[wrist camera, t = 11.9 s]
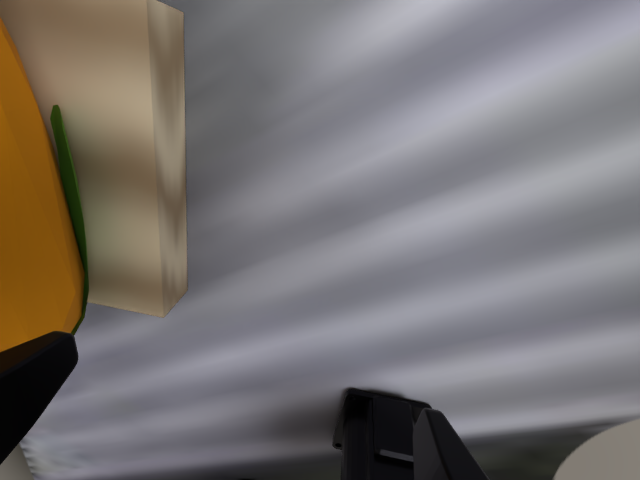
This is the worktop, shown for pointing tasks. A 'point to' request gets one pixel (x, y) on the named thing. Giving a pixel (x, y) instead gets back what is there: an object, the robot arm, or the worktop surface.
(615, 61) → the worktop surface
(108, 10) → the birch base
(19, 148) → the corn
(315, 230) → the worktop surface
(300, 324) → the worktop surface
